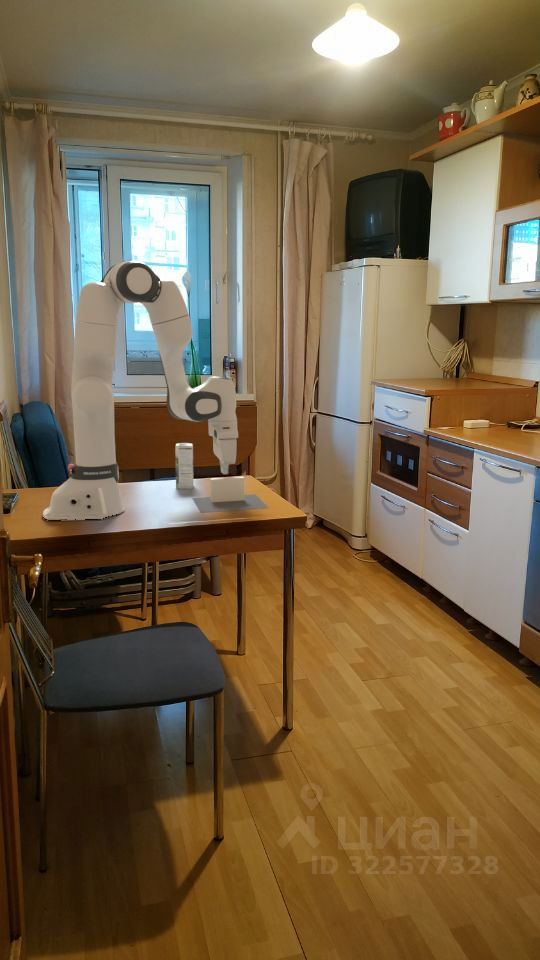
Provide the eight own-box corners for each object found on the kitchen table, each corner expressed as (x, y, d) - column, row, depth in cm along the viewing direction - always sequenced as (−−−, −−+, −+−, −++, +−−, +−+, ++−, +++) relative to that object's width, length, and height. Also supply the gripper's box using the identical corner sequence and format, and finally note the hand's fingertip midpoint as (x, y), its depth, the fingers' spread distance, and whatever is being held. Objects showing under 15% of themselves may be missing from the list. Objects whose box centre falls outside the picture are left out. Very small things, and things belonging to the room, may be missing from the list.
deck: (211, 502, 206) (211, 479, 204) (210, 500, 207) (210, 478, 206) (244, 500, 208) (244, 477, 206) (243, 498, 210) (242, 476, 208)
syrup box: (176, 485, 231) (174, 443, 228) (194, 485, 231) (192, 442, 228) (176, 489, 225) (174, 445, 222) (194, 488, 226) (192, 445, 223)
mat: (200, 513, 194) (200, 512, 194) (192, 499, 211) (192, 498, 211) (269, 509, 199) (269, 507, 199) (255, 495, 216) (255, 494, 216)
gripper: (207, 425, 219) (209, 467, 222) (218, 434, 200) (220, 480, 203) (227, 424, 221) (228, 466, 223) (239, 433, 201) (240, 479, 204)
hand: (224, 473), depth 213 cm, fingers closed
